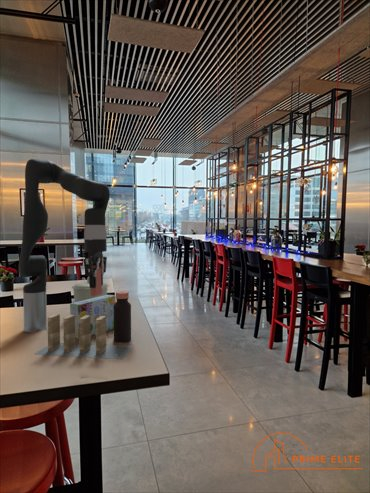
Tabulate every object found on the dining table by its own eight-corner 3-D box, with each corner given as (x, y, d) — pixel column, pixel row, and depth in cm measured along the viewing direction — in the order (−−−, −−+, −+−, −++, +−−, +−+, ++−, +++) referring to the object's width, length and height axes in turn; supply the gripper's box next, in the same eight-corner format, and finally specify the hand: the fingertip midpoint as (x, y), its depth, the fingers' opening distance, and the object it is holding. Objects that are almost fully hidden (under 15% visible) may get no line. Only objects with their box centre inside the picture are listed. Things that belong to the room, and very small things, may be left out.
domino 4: (90, 295, 108) (90, 261, 108) (97, 293, 113) (96, 260, 113) (95, 295, 108) (95, 261, 107) (101, 293, 113) (101, 260, 112)
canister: (113, 313, 169) (113, 274, 168) (101, 323, 151) (101, 279, 150) (81, 312, 170) (81, 274, 170) (65, 321, 152) (64, 278, 152)
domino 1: (48, 350, 112) (47, 317, 111) (55, 345, 117) (55, 314, 116) (52, 351, 112) (52, 317, 111) (60, 346, 117) (59, 314, 116)
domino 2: (63, 351, 111) (63, 318, 111) (70, 346, 116) (70, 314, 116) (68, 352, 111) (68, 318, 110) (75, 347, 116) (74, 314, 115)
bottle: (123, 346, 119) (122, 294, 118) (110, 343, 123) (109, 292, 122) (134, 341, 125) (134, 291, 124) (121, 338, 128) (121, 290, 128)
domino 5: (95, 353, 109) (95, 319, 109) (101, 348, 114) (101, 316, 114) (100, 353, 109) (100, 319, 109) (106, 348, 114) (106, 316, 114)
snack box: (107, 326, 146) (107, 294, 145) (116, 328, 143) (116, 295, 142) (70, 339, 127) (69, 302, 127) (79, 341, 125) (79, 304, 124)
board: (34, 356, 109) (34, 354, 109) (53, 344, 121) (53, 342, 121) (122, 362, 105) (122, 359, 105) (133, 349, 116) (133, 346, 116)
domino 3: (79, 352, 110) (79, 319, 110) (86, 347, 115) (85, 315, 115) (84, 352, 110) (84, 319, 110) (90, 347, 115) (90, 315, 115)
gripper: (94, 238, 118) (95, 283, 118) (75, 238, 103) (76, 289, 104) (113, 238, 116) (114, 283, 117) (96, 238, 102) (97, 290, 103)
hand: (96, 286), depth 110 cm, fingers closed on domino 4, 5 cm apart
